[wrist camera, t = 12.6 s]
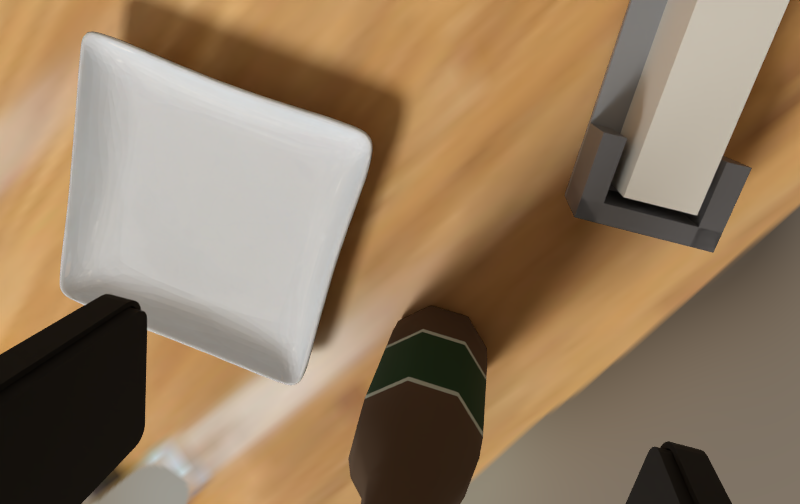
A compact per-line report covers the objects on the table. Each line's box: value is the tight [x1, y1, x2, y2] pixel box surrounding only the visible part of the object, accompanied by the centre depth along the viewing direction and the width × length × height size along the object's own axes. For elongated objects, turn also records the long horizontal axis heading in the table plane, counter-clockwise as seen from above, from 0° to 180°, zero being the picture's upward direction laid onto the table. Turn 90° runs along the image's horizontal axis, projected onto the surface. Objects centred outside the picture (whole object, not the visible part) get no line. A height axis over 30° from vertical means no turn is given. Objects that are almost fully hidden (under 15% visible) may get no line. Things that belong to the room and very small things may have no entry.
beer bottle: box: [349, 306, 487, 504], centre depth 32 cm, size 8×8×24 cm
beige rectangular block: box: [611, 0, 790, 215], centre depth 30 cm, size 16×4×6 cm, turn 168°
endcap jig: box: [565, 0, 752, 252], centre depth 31 cm, size 20×8×6 cm, turn 168°
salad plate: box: [60, 32, 373, 385], centre depth 41 cm, size 21×21×3 cm
